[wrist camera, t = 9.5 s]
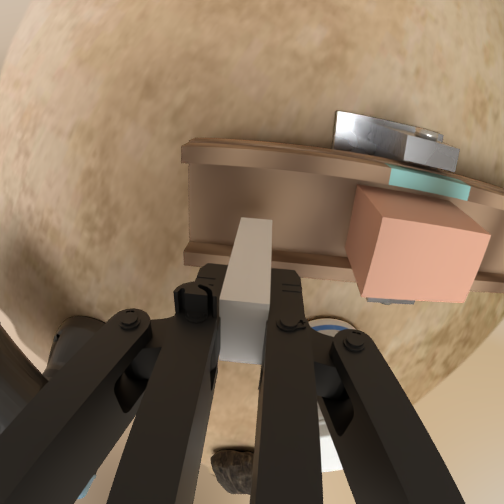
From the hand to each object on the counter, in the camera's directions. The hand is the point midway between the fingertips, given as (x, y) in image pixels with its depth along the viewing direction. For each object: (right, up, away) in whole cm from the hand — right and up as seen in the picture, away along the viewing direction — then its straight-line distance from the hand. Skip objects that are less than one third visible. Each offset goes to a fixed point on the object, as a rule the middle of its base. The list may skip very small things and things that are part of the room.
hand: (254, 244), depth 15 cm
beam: (+11, +4, +9) cm, 15 cm away
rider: (+10, +1, +4) cm, 10 cm away
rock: (-2, -40, +36) cm, 54 cm away
